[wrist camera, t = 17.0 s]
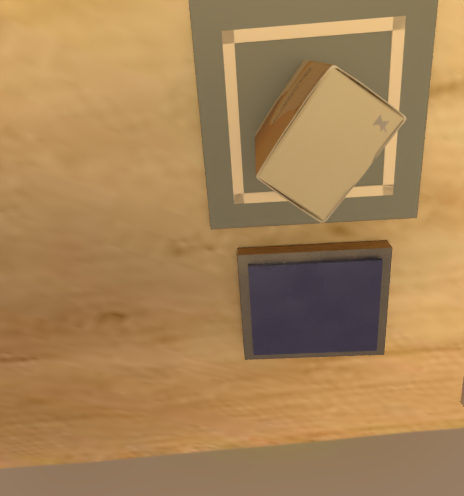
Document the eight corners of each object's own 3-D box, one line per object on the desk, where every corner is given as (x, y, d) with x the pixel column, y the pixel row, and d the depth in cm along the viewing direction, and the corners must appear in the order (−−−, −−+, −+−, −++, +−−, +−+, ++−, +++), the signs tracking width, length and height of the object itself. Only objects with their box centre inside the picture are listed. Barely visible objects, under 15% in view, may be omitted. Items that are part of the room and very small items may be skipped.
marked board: (211, 226, 35) (210, 229, 34) (189, 0, 29) (188, -1, 28) (414, 215, 34) (417, 218, 34) (436, -21, 28) (441, -23, 27)
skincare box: (303, 57, 30) (336, 53, 18) (353, 94, 30) (415, 111, 19) (250, 138, 32) (250, 178, 21) (298, 170, 33) (324, 227, 21)
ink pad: (245, 349, 40) (244, 363, 38) (237, 248, 36) (237, 258, 34) (379, 344, 39) (385, 358, 37) (386, 240, 35) (394, 250, 33)
